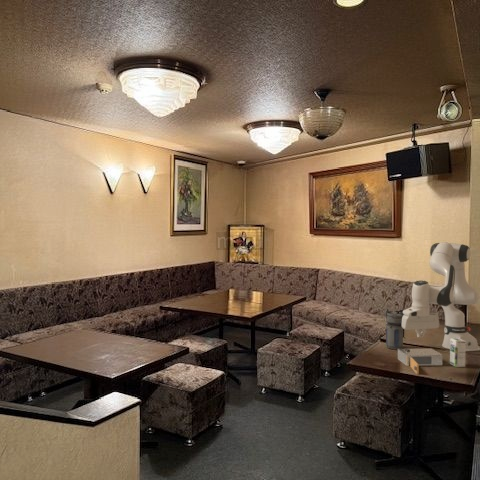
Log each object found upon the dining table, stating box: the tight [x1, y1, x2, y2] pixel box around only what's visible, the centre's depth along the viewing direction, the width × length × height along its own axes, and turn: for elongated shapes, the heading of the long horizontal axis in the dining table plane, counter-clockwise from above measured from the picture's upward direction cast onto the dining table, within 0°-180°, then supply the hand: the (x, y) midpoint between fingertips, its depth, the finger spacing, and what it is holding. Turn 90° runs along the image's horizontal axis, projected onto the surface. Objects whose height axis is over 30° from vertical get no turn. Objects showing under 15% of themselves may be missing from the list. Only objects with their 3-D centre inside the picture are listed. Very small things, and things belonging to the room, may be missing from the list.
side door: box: [409, 356, 420, 375], centre depth 218 cm, size 13×2×5 cm, turn 172°
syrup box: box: [449, 338, 467, 368], centre depth 225 cm, size 6×6×14 cm
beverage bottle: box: [384, 308, 406, 351], centre depth 258 cm, size 10×13×25 cm
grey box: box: [397, 347, 443, 367], centre depth 231 cm, size 20×14×7 cm
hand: (420, 336), depth 218 cm, fingers closed
